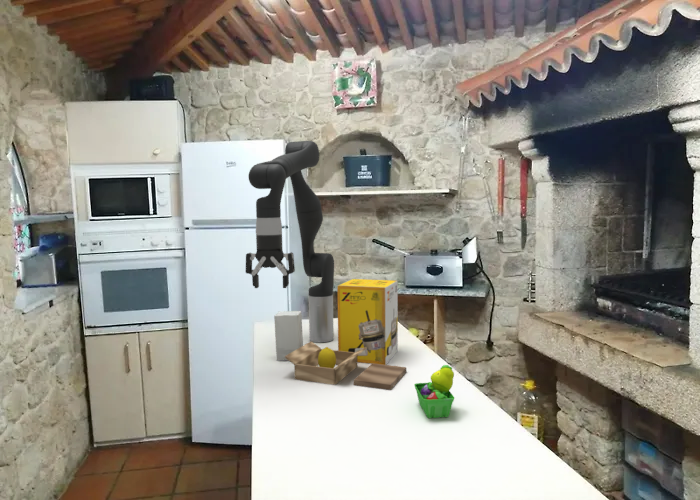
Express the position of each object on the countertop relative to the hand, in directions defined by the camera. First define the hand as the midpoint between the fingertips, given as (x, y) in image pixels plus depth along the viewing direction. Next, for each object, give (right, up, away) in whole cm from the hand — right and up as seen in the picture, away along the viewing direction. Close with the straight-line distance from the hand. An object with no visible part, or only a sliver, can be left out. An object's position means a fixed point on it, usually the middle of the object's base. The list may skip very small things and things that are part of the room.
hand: (270, 287), depth 147 cm
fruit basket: (+45, -29, -24) cm, 58 cm away
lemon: (+16, -27, +5) cm, 32 cm away
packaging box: (+30, -25, +22) cm, 45 cm away
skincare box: (+3, -25, +20) cm, 32 cm away
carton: (+16, -26, +5) cm, 31 cm away
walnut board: (+33, -27, -1) cm, 42 cm away
